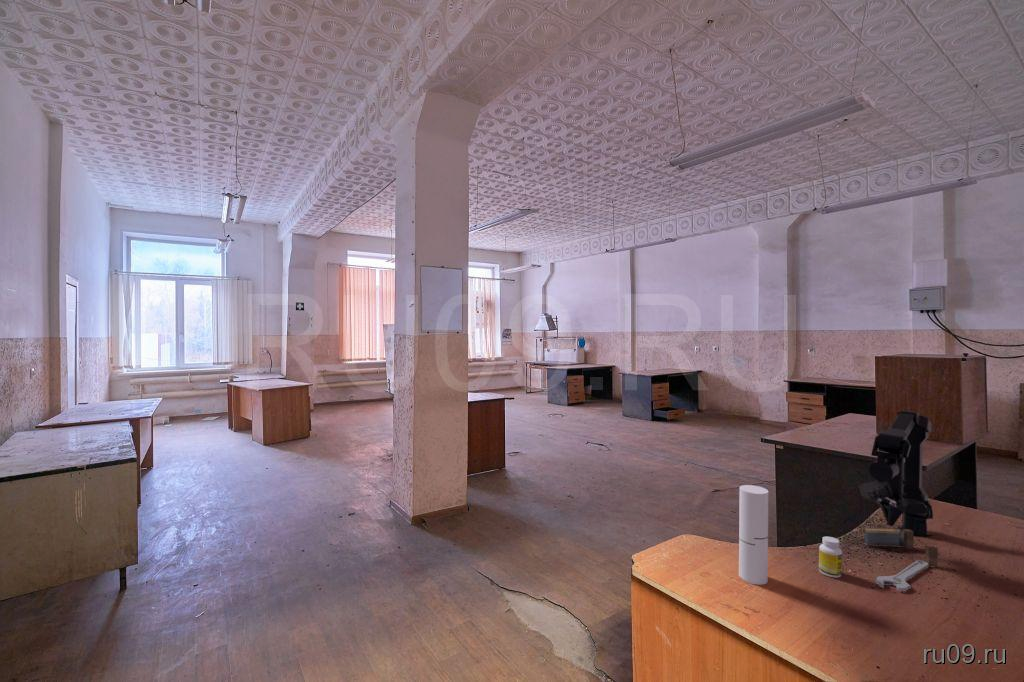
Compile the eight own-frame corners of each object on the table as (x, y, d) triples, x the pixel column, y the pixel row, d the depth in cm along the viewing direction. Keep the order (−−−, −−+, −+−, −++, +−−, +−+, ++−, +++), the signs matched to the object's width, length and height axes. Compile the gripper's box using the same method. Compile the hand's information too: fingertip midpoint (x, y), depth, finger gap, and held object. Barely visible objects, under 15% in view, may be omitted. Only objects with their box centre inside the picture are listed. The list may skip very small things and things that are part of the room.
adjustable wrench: (918, 564, 137) (918, 558, 137) (946, 574, 131) (946, 568, 131) (872, 584, 126) (872, 578, 126) (900, 596, 120) (900, 590, 120)
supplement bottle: (841, 580, 127) (842, 545, 127) (818, 574, 130) (818, 540, 130) (842, 572, 131) (842, 538, 131) (819, 566, 135) (819, 533, 135)
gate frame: (900, 545, 148) (901, 528, 148) (910, 546, 147) (910, 529, 147) (927, 566, 134) (928, 548, 134) (938, 567, 134) (938, 549, 134)
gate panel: (901, 544, 147) (901, 529, 147) (905, 546, 146) (905, 531, 146) (864, 542, 148) (864, 528, 148) (867, 545, 147) (868, 530, 147)
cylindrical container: (771, 586, 125) (772, 494, 124) (743, 583, 126) (743, 492, 125) (762, 572, 131) (763, 485, 131) (735, 569, 133) (736, 484, 132)
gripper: (842, 466, 150) (842, 513, 150) (890, 485, 131) (889, 539, 132) (876, 466, 150) (875, 513, 150) (929, 485, 132) (928, 539, 132)
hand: (890, 525), depth 141 cm, fingers closed
